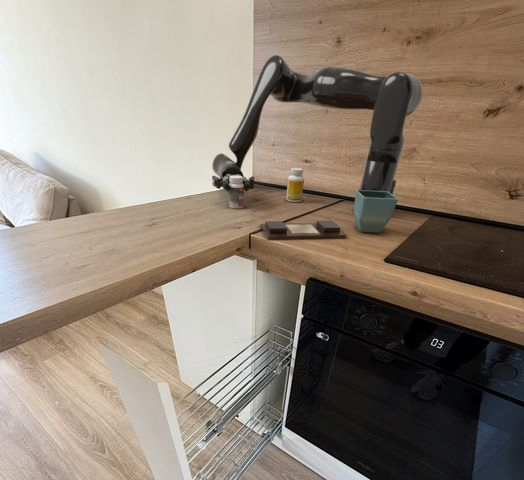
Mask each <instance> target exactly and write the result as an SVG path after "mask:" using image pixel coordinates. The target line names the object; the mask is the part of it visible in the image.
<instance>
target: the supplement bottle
mask: <svg viewBox="0 0 524 480" xmlns="http://www.w3.org/2000/svg"><path fill="white" fill-rule="evenodd" d="M303 175H304V168H300V167H291V169H290V175H289V176H288V178H287V186H286V198H285V200H286V201H287V202H290V203H301V202H302V201H303V193H304V184H305V178H304V176H303Z"/></svg>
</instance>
